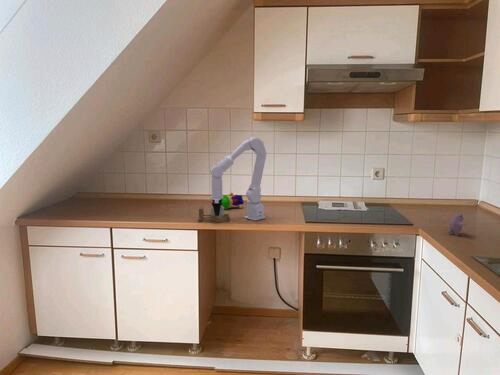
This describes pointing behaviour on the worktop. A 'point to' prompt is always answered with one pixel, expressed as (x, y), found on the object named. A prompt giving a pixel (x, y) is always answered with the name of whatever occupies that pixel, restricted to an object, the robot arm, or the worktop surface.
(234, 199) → the toy
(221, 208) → the grey rectangular block
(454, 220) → the figurine
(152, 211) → the worktop surface
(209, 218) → the sill track
